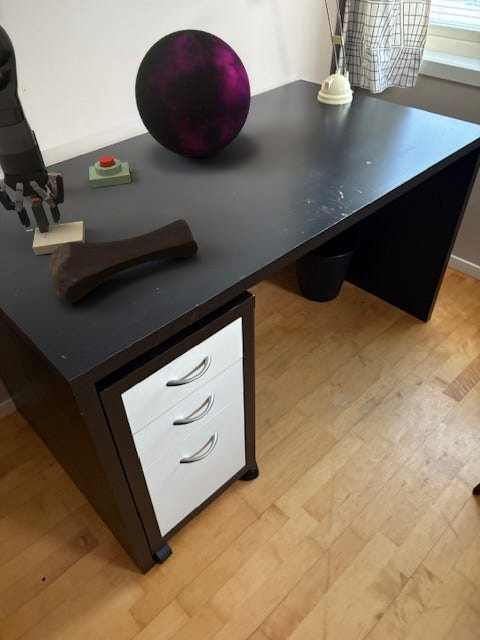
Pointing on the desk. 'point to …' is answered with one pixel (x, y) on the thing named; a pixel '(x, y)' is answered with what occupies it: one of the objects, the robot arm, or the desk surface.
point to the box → (109, 174)
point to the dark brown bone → (114, 258)
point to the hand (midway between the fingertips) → (42, 222)
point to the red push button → (107, 161)
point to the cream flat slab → (57, 236)
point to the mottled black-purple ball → (192, 93)
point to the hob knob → (40, 215)
